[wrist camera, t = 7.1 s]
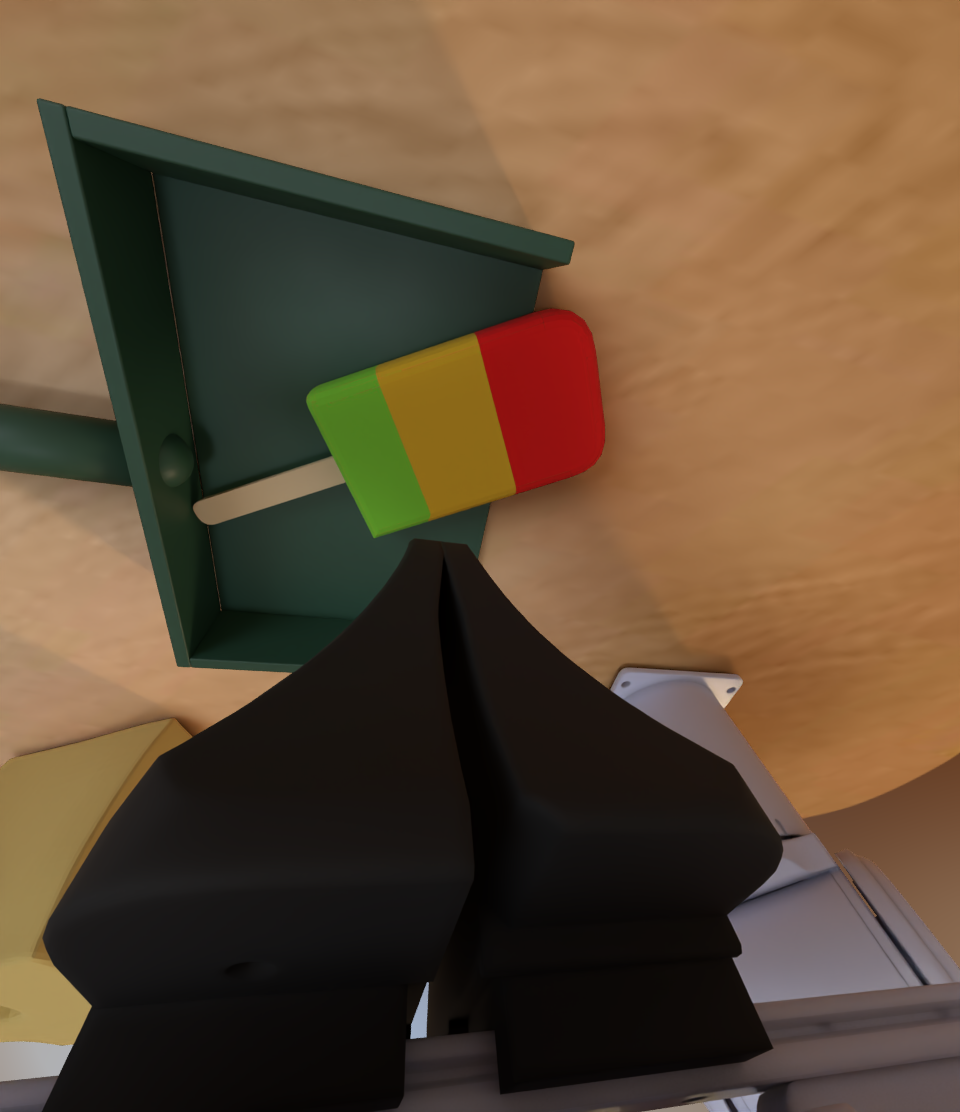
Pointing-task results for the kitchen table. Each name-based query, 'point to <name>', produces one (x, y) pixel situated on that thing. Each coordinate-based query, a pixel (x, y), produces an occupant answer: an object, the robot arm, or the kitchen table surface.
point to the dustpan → (253, 365)
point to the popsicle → (449, 426)
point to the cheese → (57, 863)
